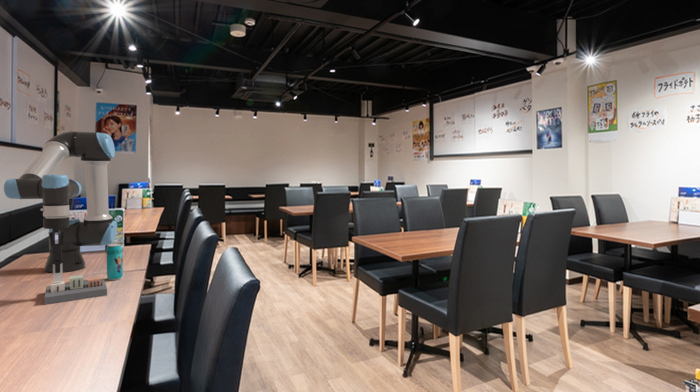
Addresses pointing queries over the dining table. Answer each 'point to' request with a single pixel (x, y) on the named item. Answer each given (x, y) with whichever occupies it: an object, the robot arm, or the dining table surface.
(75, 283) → the tile two bar
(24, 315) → the dining table surface
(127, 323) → the dining table surface
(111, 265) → the beverage can
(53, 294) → the tile board
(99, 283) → the orange cube
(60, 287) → the cream cube
